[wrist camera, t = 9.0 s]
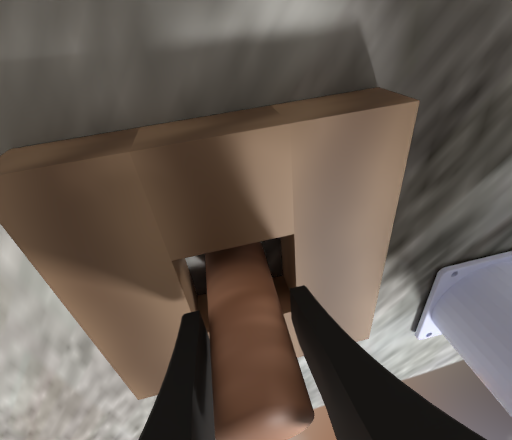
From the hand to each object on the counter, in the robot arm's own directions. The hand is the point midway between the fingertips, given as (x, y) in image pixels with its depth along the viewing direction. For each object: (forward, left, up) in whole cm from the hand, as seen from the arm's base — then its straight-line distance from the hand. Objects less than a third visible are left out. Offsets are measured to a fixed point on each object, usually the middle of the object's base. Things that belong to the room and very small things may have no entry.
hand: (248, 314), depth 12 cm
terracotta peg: (0, 0, -4) cm, 4 cm away
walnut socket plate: (0, 0, -4) cm, 4 cm away
